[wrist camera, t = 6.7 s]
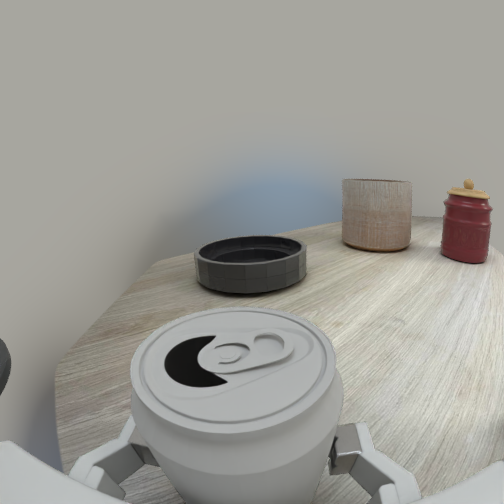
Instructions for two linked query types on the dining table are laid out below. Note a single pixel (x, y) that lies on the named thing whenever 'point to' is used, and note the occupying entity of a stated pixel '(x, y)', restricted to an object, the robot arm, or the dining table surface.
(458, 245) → the kitchen canister
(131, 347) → the dining table surface
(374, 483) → the robot arm
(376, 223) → the planter
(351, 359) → the dining table surface
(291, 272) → the grey shallow round dish
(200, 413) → the beverage can
